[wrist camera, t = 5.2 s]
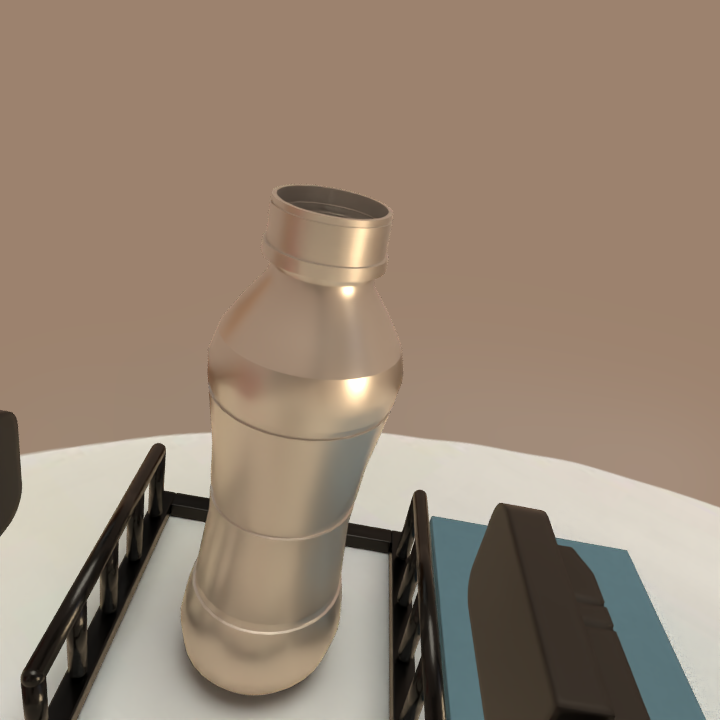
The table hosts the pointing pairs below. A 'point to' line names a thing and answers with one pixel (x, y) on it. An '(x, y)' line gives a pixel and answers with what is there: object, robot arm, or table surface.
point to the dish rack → (144, 533)
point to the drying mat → (622, 598)
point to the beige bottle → (291, 439)
